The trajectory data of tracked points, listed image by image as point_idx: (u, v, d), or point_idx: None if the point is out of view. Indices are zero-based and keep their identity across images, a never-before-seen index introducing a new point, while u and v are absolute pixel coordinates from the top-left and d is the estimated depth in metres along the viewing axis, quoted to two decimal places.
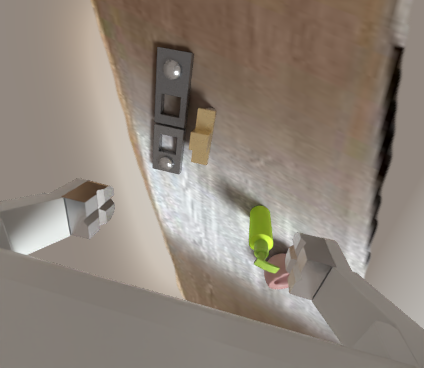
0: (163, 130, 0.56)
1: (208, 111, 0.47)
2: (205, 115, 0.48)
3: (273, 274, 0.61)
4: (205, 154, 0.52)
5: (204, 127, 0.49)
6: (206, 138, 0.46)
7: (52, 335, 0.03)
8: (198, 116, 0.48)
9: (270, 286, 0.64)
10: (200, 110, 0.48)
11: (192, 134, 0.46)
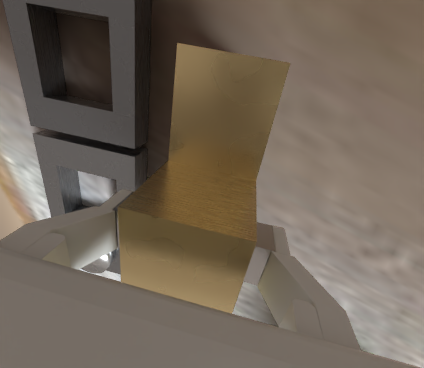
0: (66, 155, 0.16)
1: (243, 63, 0.07)
2: (223, 90, 0.08)
3: None
4: None
5: (212, 159, 0.09)
6: (236, 257, 0.06)
7: (52, 335, 0.03)
8: (181, 97, 0.08)
9: None
10: (192, 58, 0.08)
11: (131, 224, 0.06)
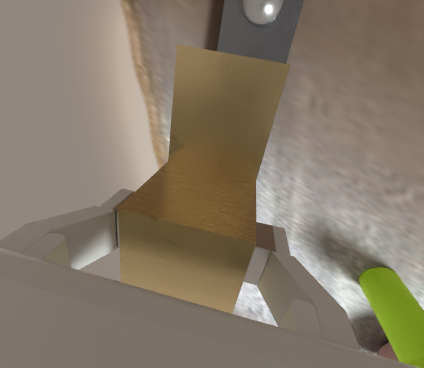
0: None
1: (243, 64, 0.07)
2: (223, 91, 0.08)
3: None
4: None
5: (212, 160, 0.09)
6: (236, 258, 0.06)
7: (52, 335, 0.03)
8: (181, 98, 0.08)
9: None
10: (192, 59, 0.08)
11: (131, 225, 0.06)
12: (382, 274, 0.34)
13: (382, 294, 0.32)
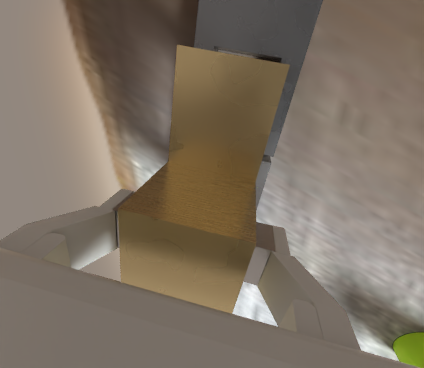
0: None
1: (243, 64, 0.07)
2: (223, 91, 0.08)
3: None
4: None
5: (212, 160, 0.09)
6: (236, 258, 0.06)
7: (52, 335, 0.03)
8: (181, 98, 0.08)
9: None
10: (192, 59, 0.08)
11: (131, 225, 0.06)
12: None
13: None
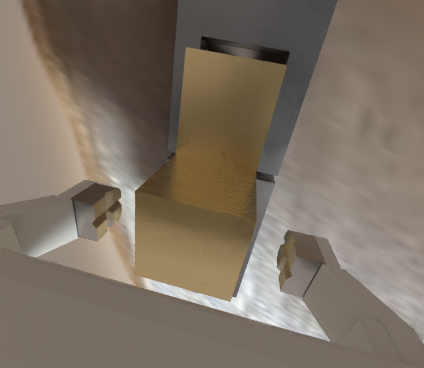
0: None
1: (245, 65, 0.08)
2: (226, 89, 0.09)
3: None
4: None
5: (217, 152, 0.10)
6: (239, 235, 0.07)
7: (52, 335, 0.03)
8: (189, 95, 0.09)
9: None
10: (199, 60, 0.09)
11: (147, 206, 0.07)
12: None
13: None
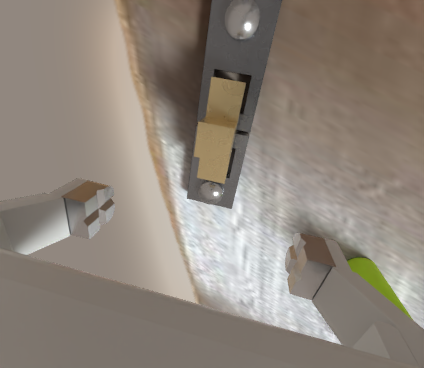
0: None
1: (231, 82, 0.24)
2: (225, 91, 0.25)
3: None
4: (223, 165, 0.29)
5: (221, 115, 0.26)
6: (229, 134, 0.23)
7: (52, 335, 0.03)
8: (212, 93, 0.25)
9: None
10: (216, 81, 0.25)
11: (201, 126, 0.23)
12: (360, 263, 0.37)
13: None
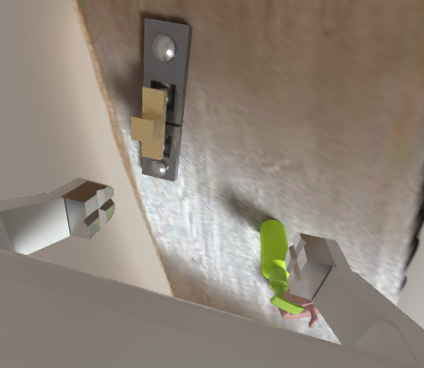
0: None
1: (155, 90, 0.37)
2: (152, 96, 0.38)
3: None
4: (158, 147, 0.42)
5: (152, 112, 0.39)
6: (151, 124, 0.36)
7: (52, 335, 0.03)
8: (144, 97, 0.38)
9: (285, 317, 0.53)
10: (145, 89, 0.37)
11: (133, 119, 0.36)
12: (270, 223, 0.50)
13: (264, 234, 0.48)
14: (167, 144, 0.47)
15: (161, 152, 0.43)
